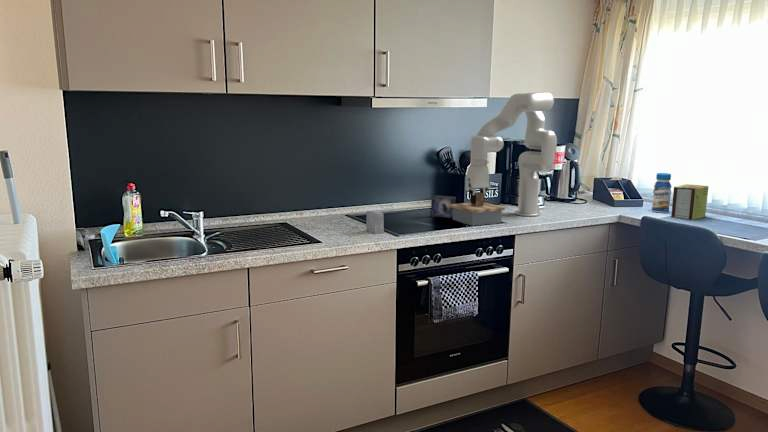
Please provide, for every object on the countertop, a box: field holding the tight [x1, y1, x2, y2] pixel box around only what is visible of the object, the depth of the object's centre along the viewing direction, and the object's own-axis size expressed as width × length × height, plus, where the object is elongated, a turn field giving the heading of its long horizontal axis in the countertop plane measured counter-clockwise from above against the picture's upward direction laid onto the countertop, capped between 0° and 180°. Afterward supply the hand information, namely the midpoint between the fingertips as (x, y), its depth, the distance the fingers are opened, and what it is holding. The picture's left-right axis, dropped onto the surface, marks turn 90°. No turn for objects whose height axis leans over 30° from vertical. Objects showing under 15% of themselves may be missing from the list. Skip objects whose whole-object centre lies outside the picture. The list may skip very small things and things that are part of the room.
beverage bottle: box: [651, 172, 672, 214], centre depth 301 cm, size 8×8×20 cm
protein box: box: [670, 183, 709, 221], centre depth 287 cm, size 10×15×16 cm
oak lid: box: [450, 191, 506, 213], centre depth 267 cm, size 18×18×7 cm
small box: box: [430, 194, 457, 219], centre depth 281 cm, size 11×6×10 cm, turn 62°
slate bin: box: [452, 208, 503, 227], centre depth 268 cm, size 16×16×7 cm
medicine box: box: [365, 210, 385, 235], centre depth 248 cm, size 8×4×9 cm, turn 30°
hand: (477, 202), depth 267 cm, fingers closed on oak lid, 4 cm apart
